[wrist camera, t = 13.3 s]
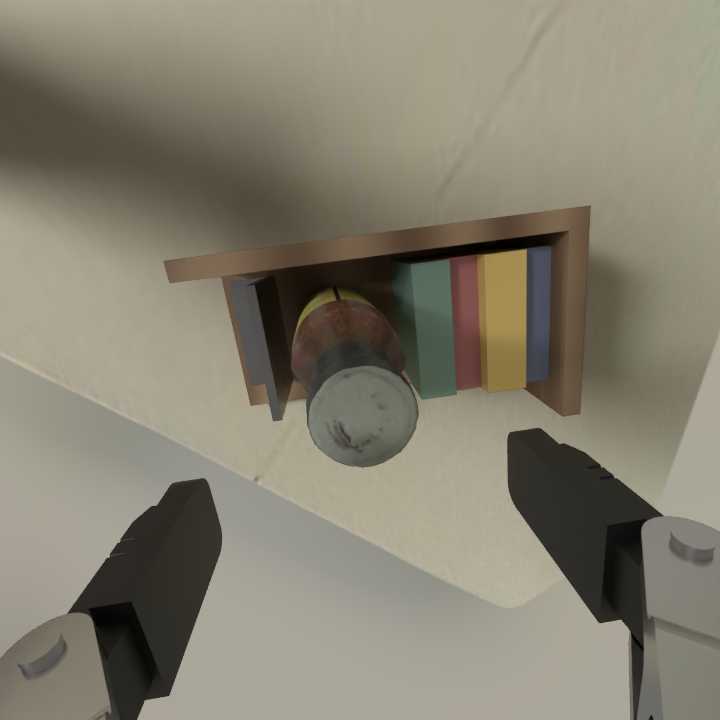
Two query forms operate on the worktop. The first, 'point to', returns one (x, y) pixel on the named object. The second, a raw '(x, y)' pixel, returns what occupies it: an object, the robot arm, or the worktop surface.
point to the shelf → (374, 251)
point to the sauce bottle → (352, 378)
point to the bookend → (263, 338)
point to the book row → (474, 318)
